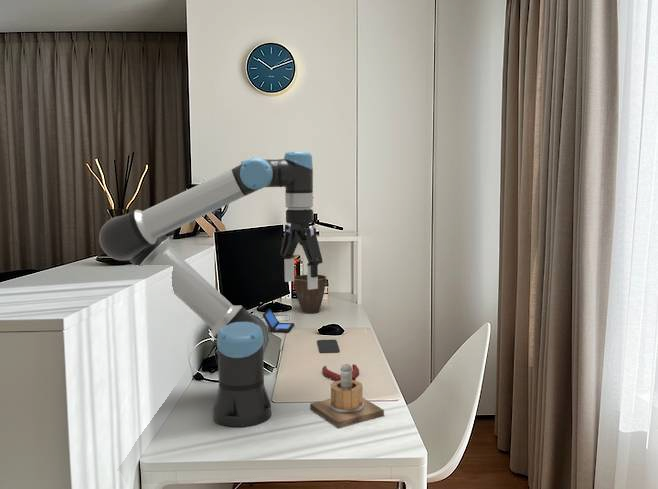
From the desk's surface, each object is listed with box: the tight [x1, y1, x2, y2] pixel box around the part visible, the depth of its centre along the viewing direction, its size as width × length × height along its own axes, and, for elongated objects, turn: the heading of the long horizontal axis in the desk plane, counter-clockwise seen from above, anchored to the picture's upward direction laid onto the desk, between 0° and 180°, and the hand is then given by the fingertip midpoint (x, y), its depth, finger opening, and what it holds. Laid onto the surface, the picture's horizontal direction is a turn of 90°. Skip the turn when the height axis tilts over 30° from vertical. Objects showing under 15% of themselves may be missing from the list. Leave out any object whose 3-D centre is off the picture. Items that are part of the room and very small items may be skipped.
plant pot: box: [293, 274, 327, 314], centre depth 266 cm, size 15×15×16 cm
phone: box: [316, 339, 341, 354], centre depth 213 cm, size 7×1×15 cm
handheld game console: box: [262, 308, 295, 334], centre depth 238 cm, size 12×11×7 cm
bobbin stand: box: [309, 363, 385, 429], centre depth 154 cm, size 14×14×13 cm
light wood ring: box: [330, 380, 363, 410], centre depth 154 cm, size 8×8×5 cm
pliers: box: [321, 363, 360, 382], centre depth 178 cm, size 12×20×3 cm, turn 9°
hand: (300, 285), depth 163 cm, fingers open, 13 cm apart
